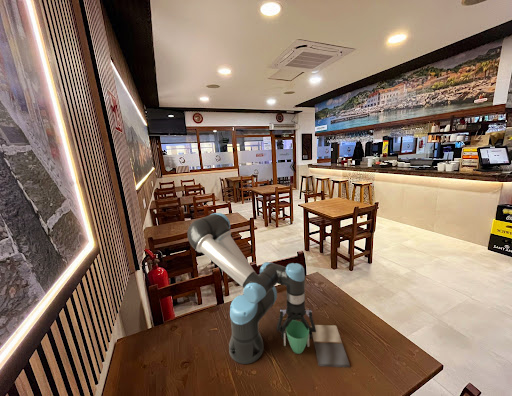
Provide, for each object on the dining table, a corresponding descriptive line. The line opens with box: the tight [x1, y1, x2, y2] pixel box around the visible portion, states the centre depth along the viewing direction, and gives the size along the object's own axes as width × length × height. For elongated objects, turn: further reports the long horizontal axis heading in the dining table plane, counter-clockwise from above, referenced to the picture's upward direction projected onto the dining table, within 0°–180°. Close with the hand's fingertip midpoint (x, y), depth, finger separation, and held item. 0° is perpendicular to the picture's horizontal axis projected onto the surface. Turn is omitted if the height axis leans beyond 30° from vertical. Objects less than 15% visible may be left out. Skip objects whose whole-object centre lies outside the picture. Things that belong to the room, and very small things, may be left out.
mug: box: [285, 320, 309, 355], centre depth 98 cm, size 15×10×10 cm
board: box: [310, 324, 351, 368], centre depth 97 cm, size 12×20×2 cm, turn 175°
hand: (296, 343), depth 99 cm, fingers open, 9 cm apart
